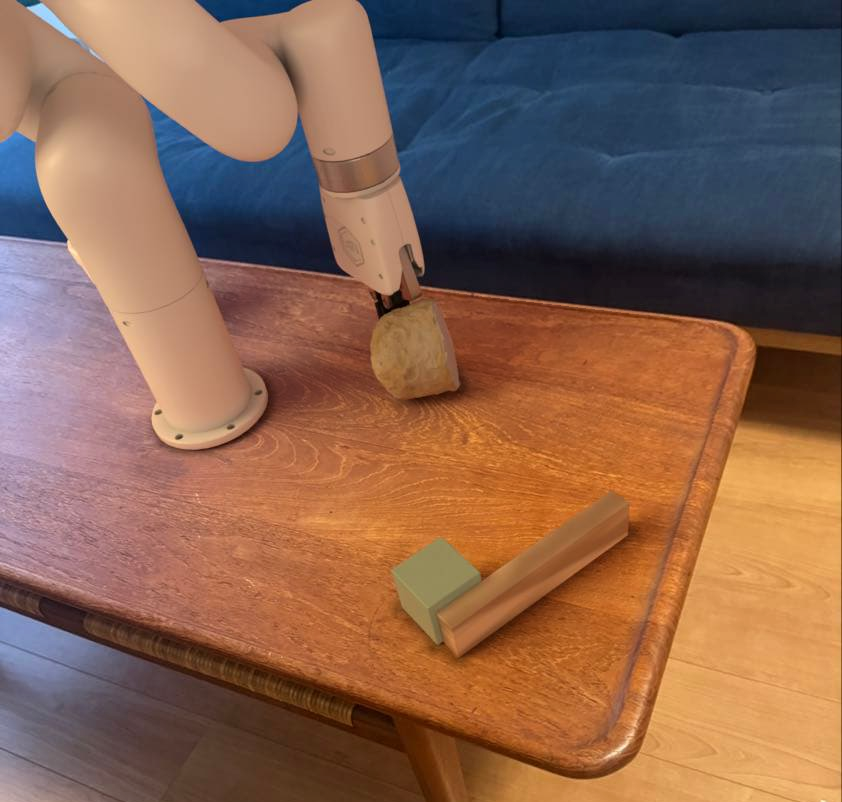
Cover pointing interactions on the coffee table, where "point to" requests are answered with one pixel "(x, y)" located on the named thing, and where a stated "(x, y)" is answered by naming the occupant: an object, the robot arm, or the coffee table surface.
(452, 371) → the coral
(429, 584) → the block
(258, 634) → the coffee table surface
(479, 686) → the coffee table surface
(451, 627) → the straightedge
